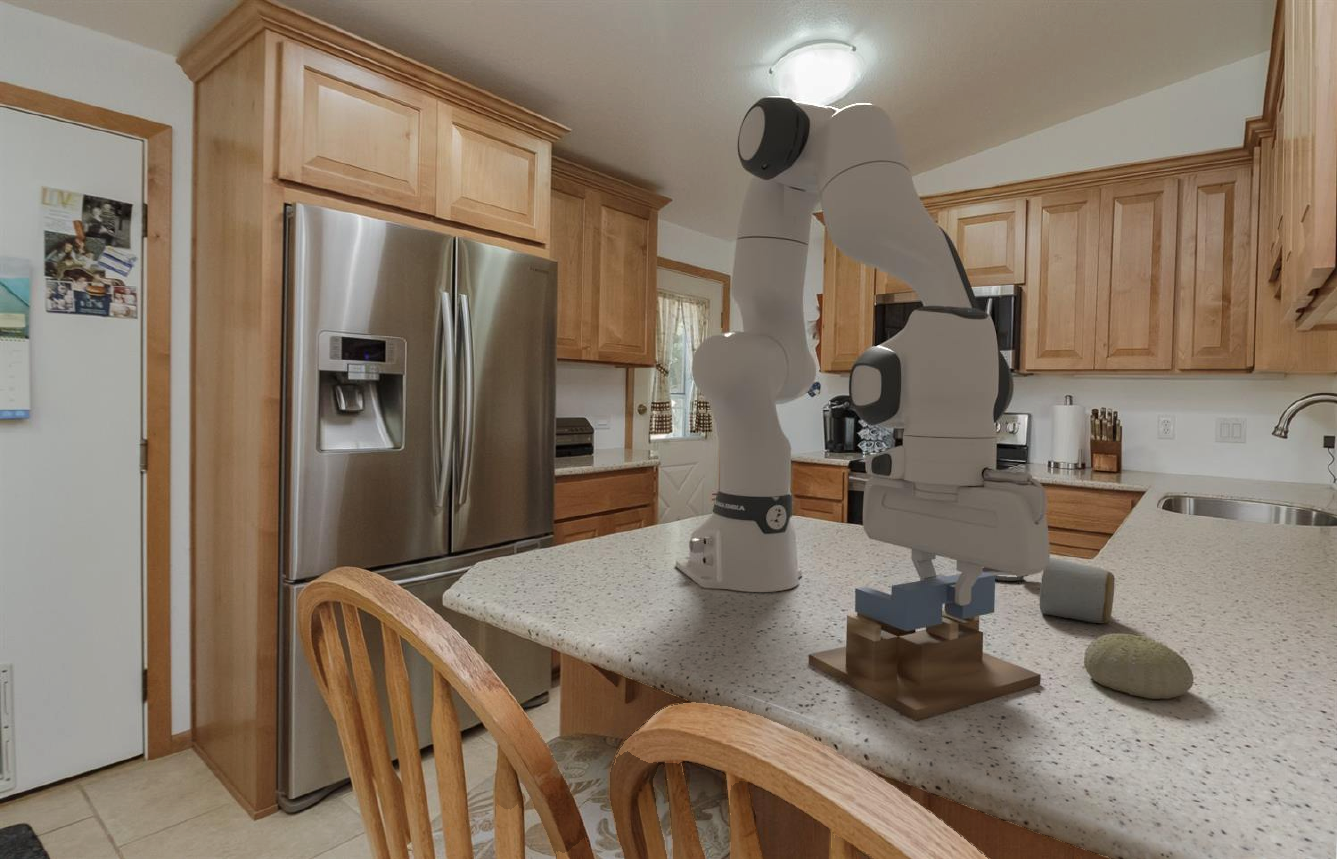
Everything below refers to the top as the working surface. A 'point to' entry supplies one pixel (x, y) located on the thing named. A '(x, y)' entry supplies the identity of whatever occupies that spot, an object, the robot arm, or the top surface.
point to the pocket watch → (1004, 578)
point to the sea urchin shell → (1137, 666)
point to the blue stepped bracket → (924, 602)
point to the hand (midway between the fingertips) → (944, 598)
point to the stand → (922, 665)
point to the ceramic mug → (1077, 591)
